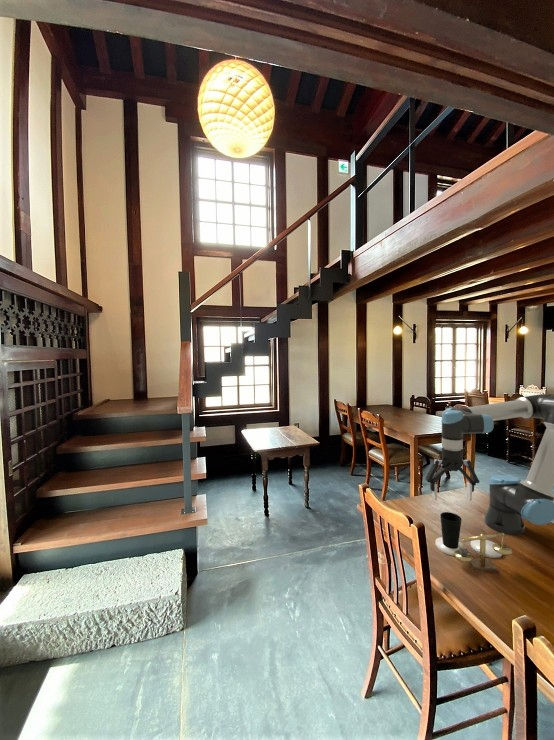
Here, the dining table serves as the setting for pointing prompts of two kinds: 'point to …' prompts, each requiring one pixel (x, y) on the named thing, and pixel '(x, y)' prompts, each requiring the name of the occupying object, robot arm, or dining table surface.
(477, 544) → the white round plate
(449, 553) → the low side dish
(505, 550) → the balance
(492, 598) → the dining table surface
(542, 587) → the dining table surface
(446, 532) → the cup
